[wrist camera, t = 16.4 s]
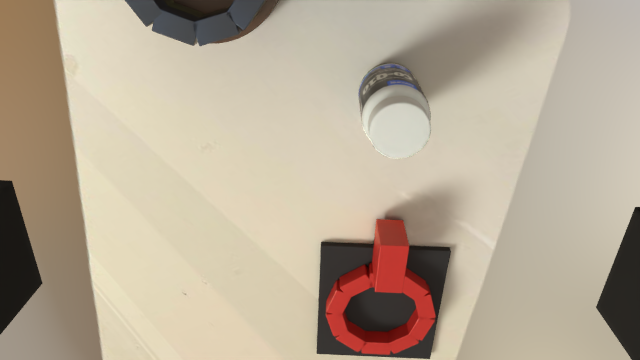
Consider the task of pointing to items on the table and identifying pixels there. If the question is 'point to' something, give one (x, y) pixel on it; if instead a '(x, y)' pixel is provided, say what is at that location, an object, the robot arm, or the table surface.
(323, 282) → the rubber mat
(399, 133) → the pill bottle
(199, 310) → the table surface
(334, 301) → the red ring
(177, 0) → the ring stand
